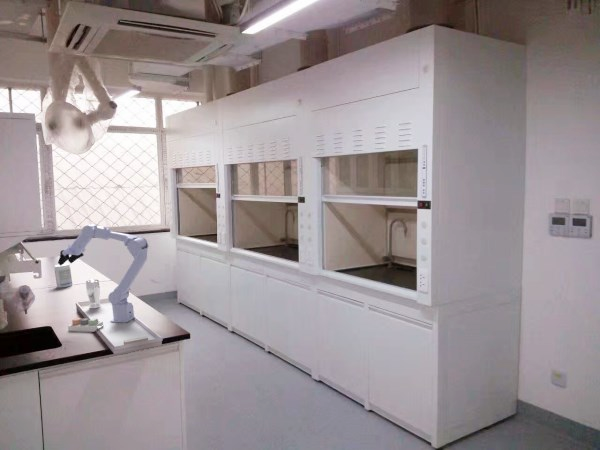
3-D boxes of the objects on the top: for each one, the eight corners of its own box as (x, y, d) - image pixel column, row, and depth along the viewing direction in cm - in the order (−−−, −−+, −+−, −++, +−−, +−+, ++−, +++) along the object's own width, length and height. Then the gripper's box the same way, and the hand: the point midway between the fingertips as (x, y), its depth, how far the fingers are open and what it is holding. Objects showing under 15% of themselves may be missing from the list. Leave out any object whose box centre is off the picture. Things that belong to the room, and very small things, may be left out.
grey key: (90, 323, 230) (89, 318, 230) (86, 325, 227) (85, 320, 227) (84, 323, 231) (84, 318, 231) (80, 325, 228) (80, 320, 228)
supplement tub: (75, 284, 327) (73, 263, 325) (66, 287, 318) (63, 266, 316) (63, 284, 329) (60, 263, 327) (53, 288, 320) (50, 266, 318)
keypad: (103, 326, 231) (102, 321, 231) (93, 331, 224) (93, 326, 224) (78, 326, 234) (77, 320, 234) (68, 331, 228) (67, 325, 227)
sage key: (98, 323, 229) (97, 318, 229) (94, 325, 226) (93, 320, 226) (92, 323, 230) (92, 318, 230) (88, 325, 227) (88, 320, 227)
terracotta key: (82, 323, 231) (81, 318, 231) (77, 325, 228) (77, 320, 228) (76, 322, 232) (76, 318, 232) (72, 325, 229) (72, 320, 229)
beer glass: (85, 308, 265) (82, 282, 263) (95, 304, 271) (92, 279, 269) (95, 309, 262) (92, 282, 261) (104, 305, 269) (101, 279, 267)
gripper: (84, 236, 246) (69, 255, 248) (64, 239, 232) (49, 259, 234) (93, 246, 245) (78, 265, 248) (74, 249, 231) (58, 269, 233)
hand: (64, 262), depth 241 cm, fingers open, 7 cm apart
